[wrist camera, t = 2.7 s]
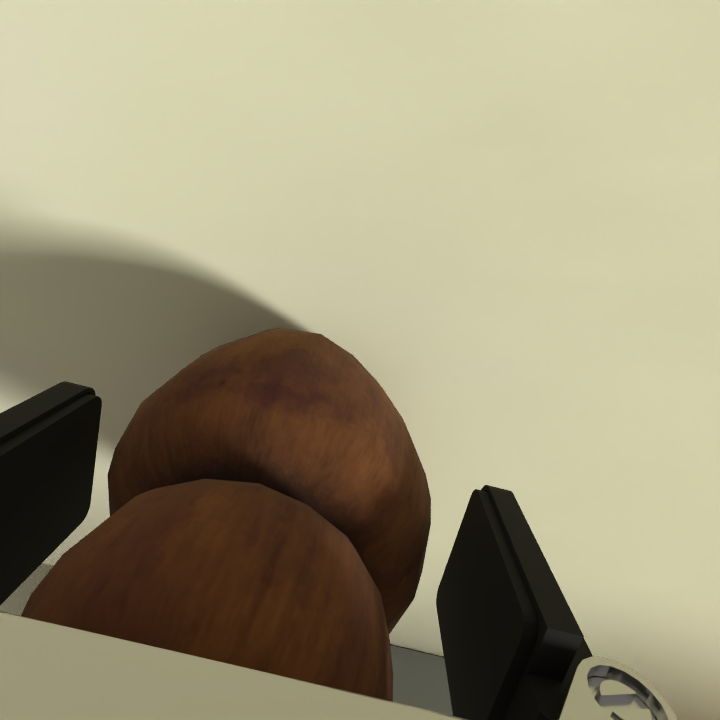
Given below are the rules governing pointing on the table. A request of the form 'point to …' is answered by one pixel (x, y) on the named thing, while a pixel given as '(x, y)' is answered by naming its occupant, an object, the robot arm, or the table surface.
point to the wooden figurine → (257, 519)
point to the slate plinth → (420, 680)
